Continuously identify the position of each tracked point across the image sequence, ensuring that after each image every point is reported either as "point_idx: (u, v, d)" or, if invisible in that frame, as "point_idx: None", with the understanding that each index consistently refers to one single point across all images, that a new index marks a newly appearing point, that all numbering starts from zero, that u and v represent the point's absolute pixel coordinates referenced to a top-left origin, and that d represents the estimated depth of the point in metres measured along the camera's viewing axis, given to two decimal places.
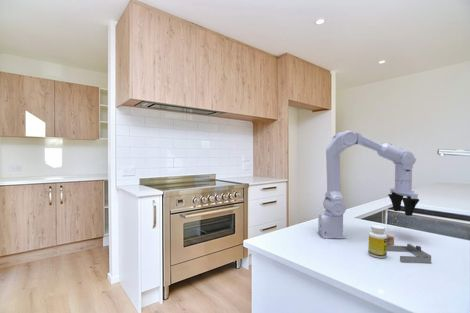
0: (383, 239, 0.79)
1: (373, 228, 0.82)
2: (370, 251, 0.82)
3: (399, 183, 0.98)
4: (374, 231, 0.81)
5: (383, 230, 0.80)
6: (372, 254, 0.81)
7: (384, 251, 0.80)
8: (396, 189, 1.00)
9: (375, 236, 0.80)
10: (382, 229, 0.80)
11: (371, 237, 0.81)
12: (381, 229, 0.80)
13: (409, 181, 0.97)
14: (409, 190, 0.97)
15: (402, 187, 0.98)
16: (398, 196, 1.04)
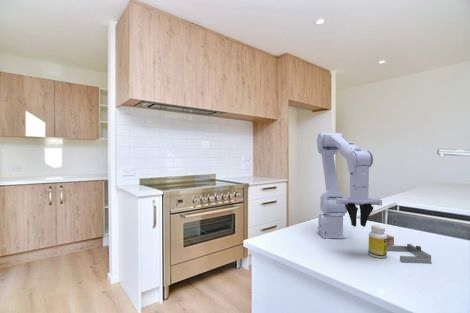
0: (383, 239, 0.79)
1: (373, 228, 0.82)
2: (370, 251, 0.82)
3: None
4: (374, 231, 0.81)
5: (383, 230, 0.80)
6: (372, 254, 0.81)
7: (384, 251, 0.80)
8: None
9: (375, 236, 0.80)
10: (382, 229, 0.80)
11: (371, 237, 0.81)
12: (381, 229, 0.80)
13: (351, 186, 0.82)
14: (351, 197, 0.82)
15: None
16: (363, 207, 0.82)
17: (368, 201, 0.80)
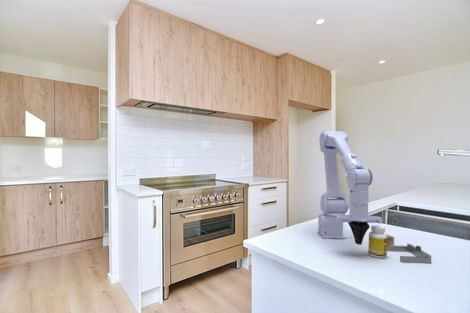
0: (383, 239, 0.79)
1: (373, 228, 0.82)
2: (370, 251, 0.82)
3: None
4: (374, 231, 0.81)
5: (383, 230, 0.80)
6: (372, 254, 0.81)
7: (384, 251, 0.80)
8: None
9: (375, 236, 0.80)
10: (382, 229, 0.80)
11: (371, 237, 0.81)
12: (381, 229, 0.80)
13: (351, 204, 0.82)
14: (351, 215, 0.82)
15: None
16: None
17: (368, 219, 0.80)
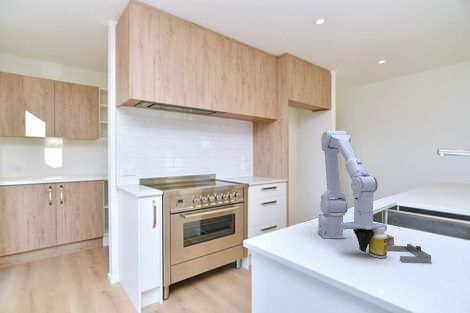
0: (383, 239, 0.79)
1: (373, 228, 0.82)
2: (370, 251, 0.82)
3: None
4: (374, 231, 0.81)
5: (383, 230, 0.80)
6: (372, 254, 0.81)
7: (384, 251, 0.80)
8: None
9: (375, 236, 0.80)
10: (382, 229, 0.80)
11: None
12: (381, 229, 0.80)
13: (356, 211, 0.82)
14: (356, 222, 0.82)
15: None
16: None
17: (373, 227, 0.80)
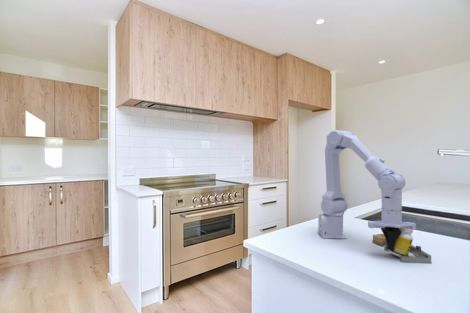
0: (410, 240, 0.79)
1: (401, 227, 0.81)
2: None
3: None
4: (402, 230, 0.80)
5: (411, 231, 0.80)
6: (394, 252, 0.80)
7: (407, 252, 0.79)
8: None
9: (402, 235, 0.79)
10: (411, 230, 0.79)
11: None
12: (410, 230, 0.79)
13: (384, 210, 0.81)
14: (384, 220, 0.81)
15: None
16: None
17: (402, 225, 0.79)
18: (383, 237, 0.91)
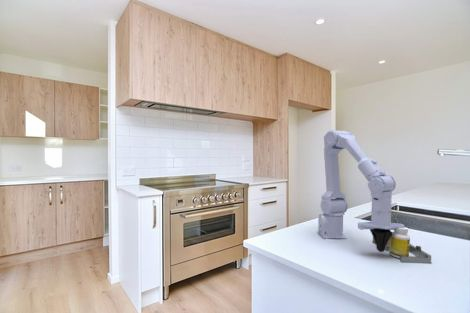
0: (407, 240, 0.79)
1: (396, 229, 0.81)
2: (392, 252, 0.81)
3: None
4: (397, 232, 0.80)
5: (407, 231, 0.80)
6: (395, 255, 0.80)
7: (407, 252, 0.79)
8: None
9: (399, 237, 0.79)
10: (406, 230, 0.79)
11: (394, 237, 0.80)
12: (405, 230, 0.79)
13: (374, 211, 0.81)
14: (374, 222, 0.81)
15: None
16: None
17: (391, 227, 0.79)
18: None
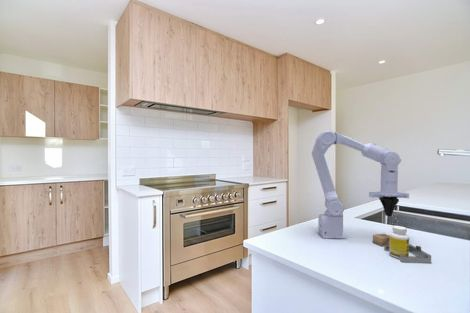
0: (406, 240, 0.79)
1: (395, 229, 0.81)
2: (392, 252, 0.81)
3: None
4: (396, 232, 0.81)
5: (405, 231, 0.80)
6: (395, 255, 0.80)
7: (407, 252, 0.79)
8: None
9: (398, 237, 0.80)
10: (404, 230, 0.80)
11: (393, 238, 0.81)
12: (403, 230, 0.80)
13: (383, 182, 0.96)
14: (383, 191, 0.96)
15: None
16: None
17: (397, 194, 0.94)
18: (383, 237, 0.91)
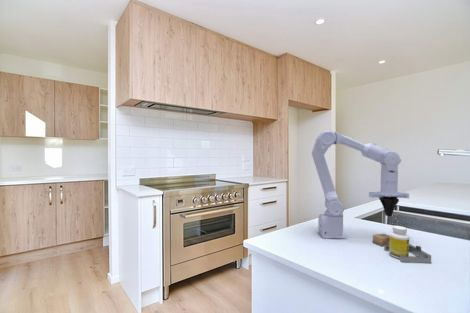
0: (406, 240, 0.79)
1: (395, 229, 0.81)
2: (392, 252, 0.81)
3: None
4: (396, 232, 0.80)
5: (405, 231, 0.80)
6: (395, 255, 0.80)
7: (407, 252, 0.79)
8: None
9: (398, 237, 0.79)
10: (405, 230, 0.80)
11: (393, 238, 0.80)
12: (404, 230, 0.79)
13: (383, 182, 0.96)
14: (383, 191, 0.96)
15: None
16: None
17: (397, 194, 0.94)
18: (383, 237, 0.91)
